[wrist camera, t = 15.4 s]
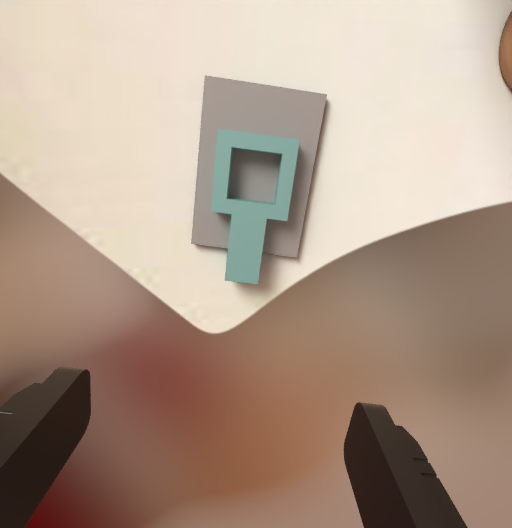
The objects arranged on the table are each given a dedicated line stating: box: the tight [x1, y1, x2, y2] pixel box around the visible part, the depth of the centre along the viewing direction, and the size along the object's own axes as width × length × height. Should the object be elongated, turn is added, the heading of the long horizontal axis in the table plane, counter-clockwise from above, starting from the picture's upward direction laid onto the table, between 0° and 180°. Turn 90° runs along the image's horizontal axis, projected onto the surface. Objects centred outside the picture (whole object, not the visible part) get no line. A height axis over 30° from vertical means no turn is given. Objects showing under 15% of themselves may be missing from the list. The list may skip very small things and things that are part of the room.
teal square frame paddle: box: [211, 129, 300, 284], centre depth 28 cm, size 12×6×2 cm, turn 173°
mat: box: [191, 76, 327, 258], centre depth 28 cm, size 14×10×1 cm
